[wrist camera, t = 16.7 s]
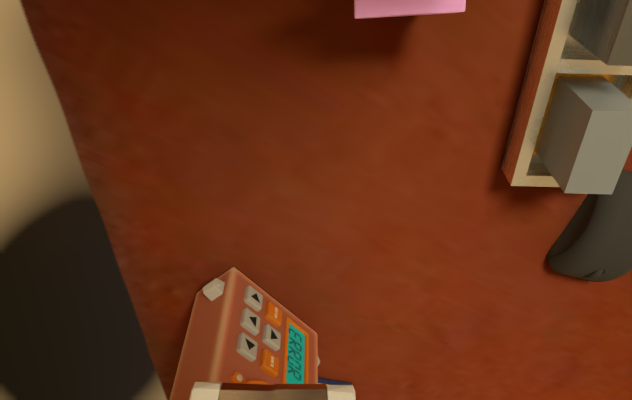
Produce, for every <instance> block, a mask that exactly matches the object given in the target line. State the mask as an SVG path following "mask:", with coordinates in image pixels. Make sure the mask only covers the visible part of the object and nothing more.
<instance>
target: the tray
mask: <svg viewBox="0 0 632 400" xmlns="http://www.w3.org/2000/svg"><path fill="white" fill-rule="evenodd" d="M559 76H560V77H592V78H606V79H607V80H608V81H609V82H611V83H612V84H613V85H614V86H615V87H616V88H618V89H619V90H620V91H621V92H622V93H624V94H625V95H626V96H627V97H628V98H629V99H631V100H632V0H544V4H543V8H542V11H541V15H540V19H539V23H538V27H537V31H536V34H535V38H534V42H533V46H532V50H531V54H530V58H529V61H528V65H527V69H526V73H525V77H524V81H523V85H522V88H521V92H520V96H519V100H518V104H517V108H516V112H515V115H514V119H513V123H512V127H511V131H510V135H509V138H508V142H507V146H506V150H505V154H504V158H503V162H502V165H501V169H502V171H503V173H504V175H505V176H506V178H507V180H508V182H509V184H510V185H511V186H535V187H560V186H559V185H558V183H557V182H556V181H555V179H554V178H553V176H552V175H551V173H550V172H549V170H548V169H547V168H546V166H545V165H544V163H543V162H542V160H541V159H540V157H539V156H538V155H537V153H536V152H537V148H538V145H539V141H540V138H541V135H542V131H543V128H544V125H545V121H546V118H547V114H548V111H549V108H550V104H551V101H552V98H553V94H554V91H555V87H556V84H557V81H558V77H559Z"/></svg>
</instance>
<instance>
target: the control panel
mask: <svg viewBox="0 0 632 400" xmlns="http://www.w3.org/2000/svg"><path fill="white" fill-rule="evenodd" d="M319 363H320V360H319V357H318V335H317V333H316V332H315V331H314V330H312V329H311V328H310V327H309V326H307V325H306V324H305V323H304V322H302V321H301V320H300V319H299V318H297V317H296V316H295V315H294V314H292V313H291V312H290V311H289V310H287V309H286V308H285V307H284V306H282V305H281V304H280V303H279V302H277V301H276V300H275V299H274V298H272V297H271V296H270V295H269V294H267V293H266V292H265V291H264V290H262V289H261V288H260V287H259V286H257V285H256V284H255V283H254V282H252V281H251V280H250V279H249V278H247V277H246V276H245V275H244V274H242V273H241V272H240V271H239V270H237V269H236V268H235V267H232V268H231V269H229V270H228V271H227V272H225V273H224V274H222V275H221V276H220V277H218V278H215V279H213V280H212V281H211V282H209V283H208V284H206V285H205V286H204V287H203V289H201V290H200V291H198V292H197V294H196V297H195V301H194V305H193V309H192V313H191V317H190V321H189V325H188V329H187V333H186V336H185V340H184V344H183V348H182V352H181V356H180V360H179V364H178V368H177V372H176V376H175V380H174V383H173V387H172V391H171V395H170V399H169V400H189V399H190V394H191V390H192V388H193V386H194V384H195V382H222V383H246V384H270V385H274V384H318V365H319Z"/></svg>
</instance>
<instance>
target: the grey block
mask: <svg viewBox="0 0 632 400" xmlns="http://www.w3.org/2000/svg"><path fill="white" fill-rule="evenodd" d="M631 147H632V100H631V99H629V98H628V97H627V96H626V95H625V94H624V93H622V92H621V91H620V90H619V89H618V88H616V87H615V86H614V85H613V84H612V83H611V82H609V81H608V80H607V79H606V78H592V77H560V76H559V77H558V81H557V84H556V87H555V91H554V94H553V98H552V101H551V104H550V108H549V111H548V114H547V118H546V121H545V125H544V128H543V131H542V135H541V138H540V141H539V145H538V148H537V152H536V153H537V155H538V156H539V157H540V159H541V160H542V162H543V163H544V165H545V166H546V168H547V169H548V170H549V172H550V173H551V175H552V176H553V178H554V179H555V181H556V182H557V183H558V185H559V186H560V188H561V189H562V191H563V192H564V193H575V194H612V193H613V191H614V188H615V186H616V184H617V181H618V179H619V176H620V174H621V171H622V169H623V166H624V164H625V161H626V159H627V156H628V154H629V152H630V149H631Z"/></svg>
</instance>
